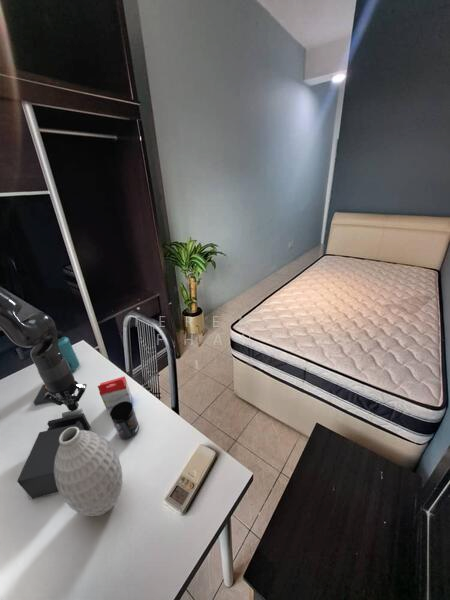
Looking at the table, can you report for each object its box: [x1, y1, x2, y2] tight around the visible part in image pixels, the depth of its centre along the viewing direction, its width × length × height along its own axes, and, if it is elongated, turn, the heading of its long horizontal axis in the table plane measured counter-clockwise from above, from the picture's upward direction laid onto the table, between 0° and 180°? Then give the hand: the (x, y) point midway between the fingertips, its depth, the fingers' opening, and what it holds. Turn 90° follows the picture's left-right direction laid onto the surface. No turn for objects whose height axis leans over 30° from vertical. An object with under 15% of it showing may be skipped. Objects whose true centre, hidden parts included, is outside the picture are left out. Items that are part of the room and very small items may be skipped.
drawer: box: [47, 408, 91, 431], centre depth 77 cm, size 17×10×7 cm, turn 13°
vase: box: [54, 427, 124, 517], centre depth 59 cm, size 13×13×28 cm
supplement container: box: [109, 401, 140, 440], centre depth 80 cm, size 7×7×10 cm
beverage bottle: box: [57, 330, 80, 372], centre depth 105 cm, size 6×7×20 cm
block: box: [32, 383, 59, 406], centre depth 98 cm, size 11×9×4 cm
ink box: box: [97, 376, 134, 416], centre depth 88 cm, size 8×5×15 cm, turn 111°
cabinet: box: [16, 423, 84, 500], centre depth 71 cm, size 14×12×9 cm
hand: (74, 409), depth 85 cm, fingers closed
